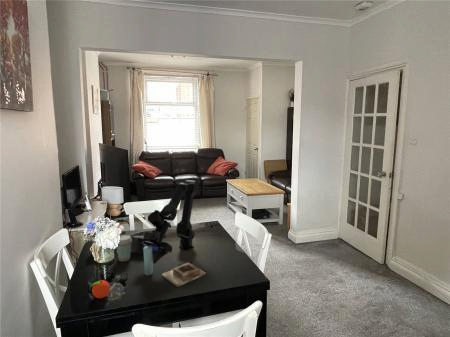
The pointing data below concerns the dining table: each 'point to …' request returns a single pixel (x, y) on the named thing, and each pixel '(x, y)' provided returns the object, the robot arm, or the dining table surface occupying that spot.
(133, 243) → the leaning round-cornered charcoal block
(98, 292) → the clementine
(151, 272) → the peg
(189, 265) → the keyhole socket
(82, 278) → the dining table surface
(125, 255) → the coffee cup
